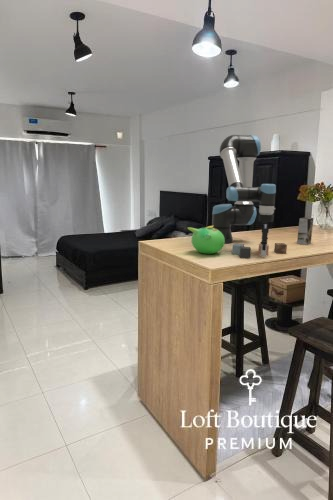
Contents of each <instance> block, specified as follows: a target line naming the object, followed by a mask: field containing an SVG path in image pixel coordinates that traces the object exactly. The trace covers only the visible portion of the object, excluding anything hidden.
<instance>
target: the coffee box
mask: <svg viewBox="0 0 333 500" xmlns="http://www.w3.org/2000/svg"><path fill="white" fill-rule="evenodd" d="M314 219H315V218H313V217H300V218H299V222H298V230H297V231H298V232H297V241H296V244H297V245H304V246H308V245H310V244H311V243H312V235H313V227H314Z"/></svg>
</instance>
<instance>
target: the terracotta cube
mask: <svg viewBox="0 0 333 500" xmlns="http://www.w3.org/2000/svg"><path fill="white" fill-rule="evenodd" d="M269 247H270V246H269V244H268V243H267V251H266V256H268V255H269V249H270V248H269ZM257 254H258V255H259V256H261V244H260V243H258V252H257Z"/></svg>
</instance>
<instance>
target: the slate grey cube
mask: <svg viewBox="0 0 333 500" xmlns="http://www.w3.org/2000/svg"><path fill="white" fill-rule="evenodd" d="M240 247H245V244H243V243H234V244H232V248H231V250H232V251H231V255H237V256H240Z"/></svg>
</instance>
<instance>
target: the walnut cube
mask: <svg viewBox="0 0 333 500" xmlns="http://www.w3.org/2000/svg"><path fill="white" fill-rule="evenodd" d="M287 248H288V244H286V243H285V242H275V243H274V248H273V252H274V253H276V254H277V255H278V254H281V255H282V254H284V255H286V254H287V250H288V249H287Z"/></svg>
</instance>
